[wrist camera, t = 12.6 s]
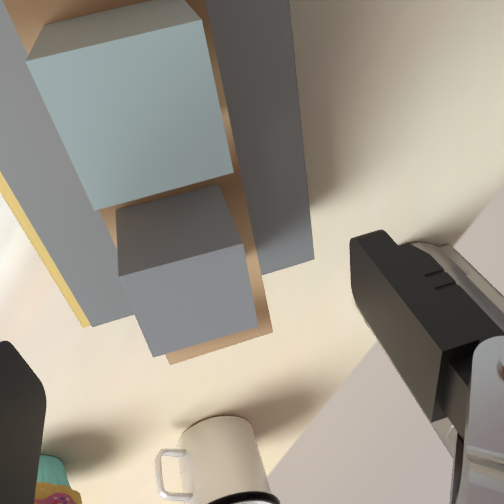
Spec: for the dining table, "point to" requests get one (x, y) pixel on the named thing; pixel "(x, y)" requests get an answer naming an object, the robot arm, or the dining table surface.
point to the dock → (245, 138)
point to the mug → (218, 465)
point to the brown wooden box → (85, 3)
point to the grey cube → (184, 270)
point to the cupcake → (54, 483)
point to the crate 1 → (133, 99)
